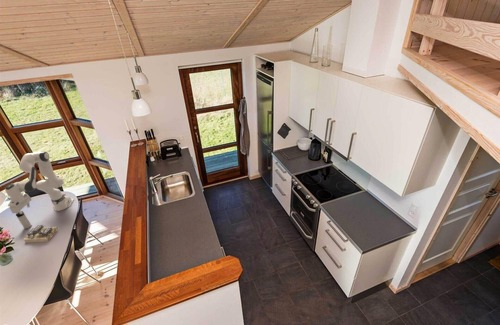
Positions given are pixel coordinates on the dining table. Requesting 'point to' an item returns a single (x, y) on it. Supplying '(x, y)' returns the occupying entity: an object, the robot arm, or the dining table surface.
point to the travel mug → (23, 220)
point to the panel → (41, 238)
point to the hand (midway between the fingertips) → (25, 210)
